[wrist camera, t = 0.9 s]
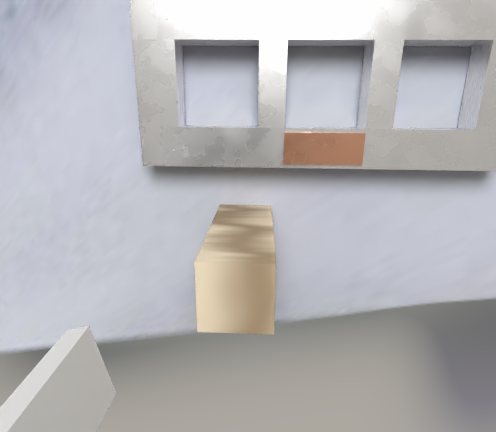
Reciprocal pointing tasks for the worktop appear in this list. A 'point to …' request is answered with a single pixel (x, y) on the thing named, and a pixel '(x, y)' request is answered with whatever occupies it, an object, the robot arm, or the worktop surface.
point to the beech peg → (237, 272)
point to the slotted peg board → (275, 71)
